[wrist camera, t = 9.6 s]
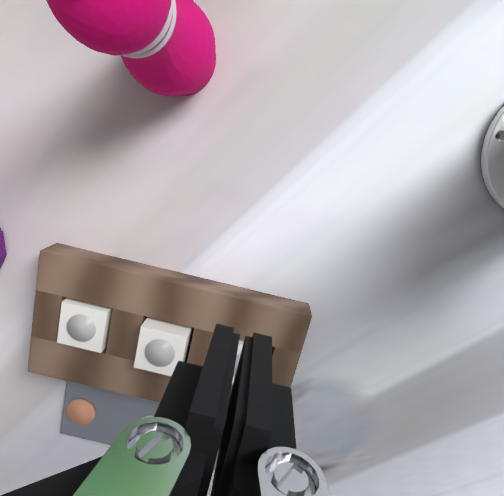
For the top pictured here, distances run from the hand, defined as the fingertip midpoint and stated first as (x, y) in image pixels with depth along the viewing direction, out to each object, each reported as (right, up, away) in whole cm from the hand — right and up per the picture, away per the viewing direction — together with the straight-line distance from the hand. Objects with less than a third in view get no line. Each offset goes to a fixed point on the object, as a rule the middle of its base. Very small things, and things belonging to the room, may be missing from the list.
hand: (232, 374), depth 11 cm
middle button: (-8, -5, +28) cm, 30 cm away
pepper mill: (-6, +20, +23) cm, 31 cm away
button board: (-8, -5, +30) cm, 31 cm away
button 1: (-16, -3, +29) cm, 33 cm away
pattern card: (-11, -16, +33) cm, 38 cm away
